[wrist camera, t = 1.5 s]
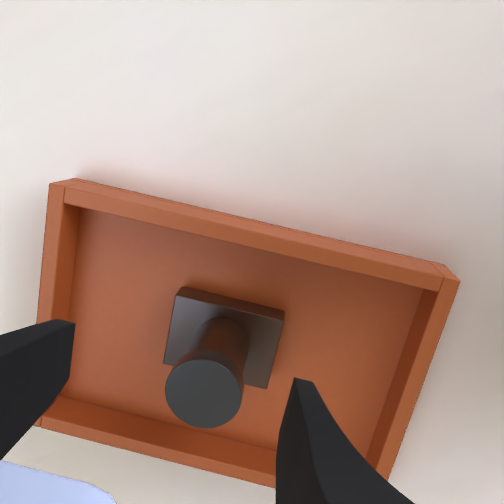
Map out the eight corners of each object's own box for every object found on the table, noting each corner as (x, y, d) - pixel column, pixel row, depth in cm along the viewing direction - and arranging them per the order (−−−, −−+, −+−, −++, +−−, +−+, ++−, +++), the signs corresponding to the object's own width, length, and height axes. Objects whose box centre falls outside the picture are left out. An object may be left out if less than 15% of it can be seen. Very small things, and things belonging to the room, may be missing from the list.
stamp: (285, 308, 24) (281, 369, 18) (268, 374, 25) (258, 452, 19) (182, 283, 24) (143, 334, 18) (170, 349, 25) (129, 419, 19)
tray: (445, 264, 23) (461, 280, 21) (368, 480, 27) (375, 515, 24) (73, 177, 24) (48, 182, 21) (50, 398, 28) (26, 424, 25)
